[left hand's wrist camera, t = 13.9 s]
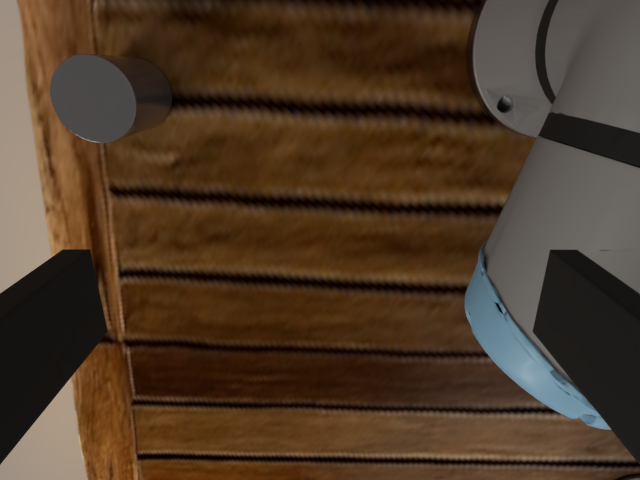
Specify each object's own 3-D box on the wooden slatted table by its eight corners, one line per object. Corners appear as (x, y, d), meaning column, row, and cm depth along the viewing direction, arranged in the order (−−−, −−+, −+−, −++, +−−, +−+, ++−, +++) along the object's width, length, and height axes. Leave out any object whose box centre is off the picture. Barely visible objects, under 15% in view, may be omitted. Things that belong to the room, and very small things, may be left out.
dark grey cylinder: (167, 57, 37) (128, 53, 29) (176, 129, 39) (142, 143, 31) (97, 57, 37) (40, 53, 29) (110, 129, 39) (60, 143, 31)
